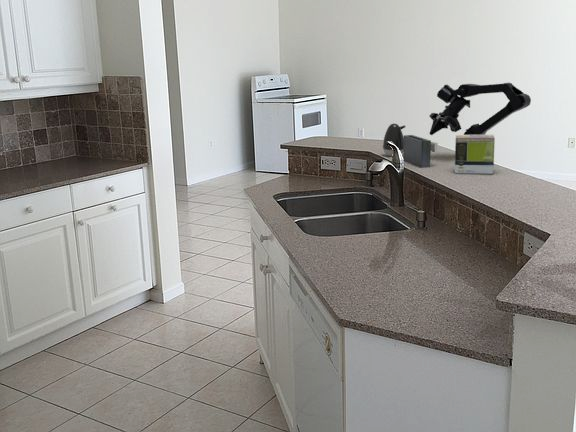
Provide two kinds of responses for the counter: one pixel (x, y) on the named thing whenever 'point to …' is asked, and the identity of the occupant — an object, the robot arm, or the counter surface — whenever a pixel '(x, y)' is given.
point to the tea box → (474, 154)
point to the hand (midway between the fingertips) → (430, 134)
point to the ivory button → (434, 146)
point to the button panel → (417, 150)
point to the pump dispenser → (393, 138)
